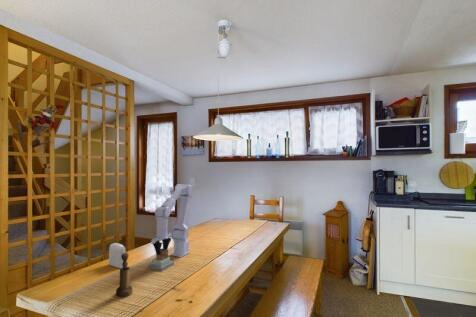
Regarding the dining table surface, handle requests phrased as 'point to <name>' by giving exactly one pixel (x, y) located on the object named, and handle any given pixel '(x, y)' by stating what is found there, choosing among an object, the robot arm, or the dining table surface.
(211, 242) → the dining table surface
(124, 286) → the mortar and pestle
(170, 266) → the tower base slab
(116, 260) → the photo printer
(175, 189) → the robot arm
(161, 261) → the tower top slab
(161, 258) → the walnut cube
